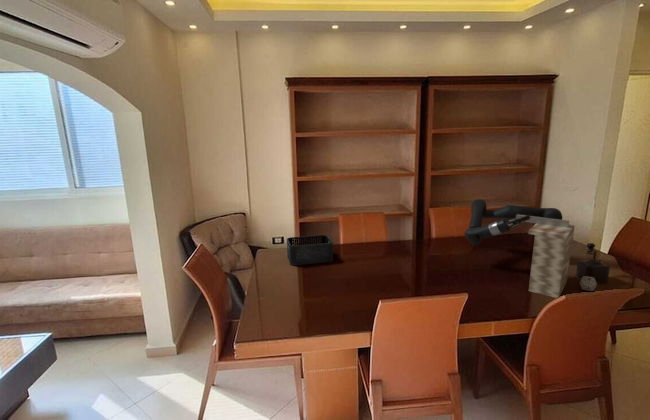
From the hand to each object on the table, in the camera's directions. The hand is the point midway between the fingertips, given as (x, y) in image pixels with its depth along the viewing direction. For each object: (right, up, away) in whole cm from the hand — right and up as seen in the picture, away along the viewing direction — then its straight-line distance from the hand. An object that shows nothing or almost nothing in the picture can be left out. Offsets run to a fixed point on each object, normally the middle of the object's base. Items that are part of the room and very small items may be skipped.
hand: (530, 216), depth 189 cm
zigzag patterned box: (+5, -37, -4) cm, 37 cm away
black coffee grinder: (+35, -34, +5) cm, 49 cm away
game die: (+23, -38, -11) cm, 46 cm away
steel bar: (+4, -4, -3) cm, 6 cm away
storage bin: (-121, -29, +43) cm, 132 cm away
